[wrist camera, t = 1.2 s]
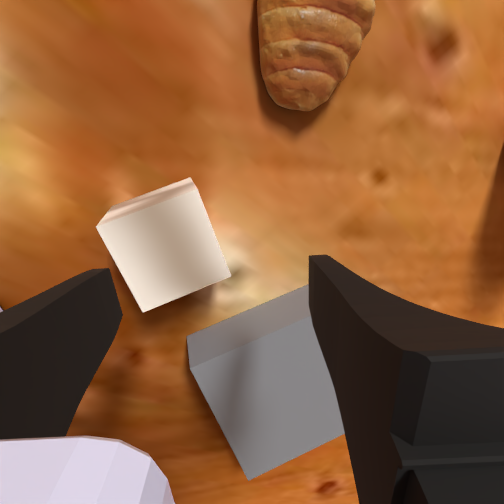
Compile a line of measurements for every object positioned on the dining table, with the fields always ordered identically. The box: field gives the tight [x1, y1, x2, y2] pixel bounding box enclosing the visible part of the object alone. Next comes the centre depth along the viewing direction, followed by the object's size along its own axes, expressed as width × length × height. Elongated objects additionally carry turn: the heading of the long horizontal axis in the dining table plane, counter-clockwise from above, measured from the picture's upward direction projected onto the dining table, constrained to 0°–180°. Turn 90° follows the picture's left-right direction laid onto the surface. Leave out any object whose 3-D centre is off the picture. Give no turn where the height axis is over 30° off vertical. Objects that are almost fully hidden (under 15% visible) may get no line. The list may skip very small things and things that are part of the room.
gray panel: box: [187, 284, 345, 481], centre depth 25 cm, size 12×12×4 cm
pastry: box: [257, 0, 375, 111], centre depth 17 cm, size 9×7×4 cm
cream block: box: [96, 178, 231, 312], centre depth 18 cm, size 5×5×5 cm
